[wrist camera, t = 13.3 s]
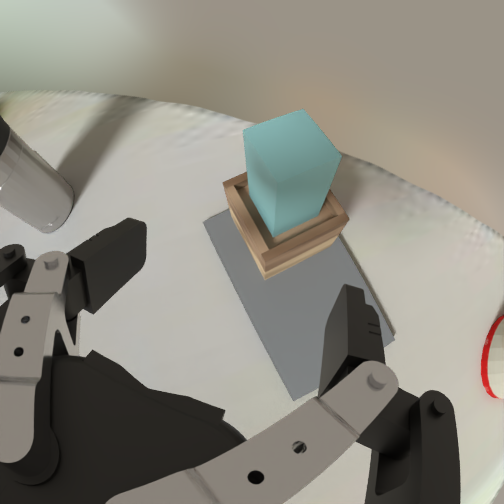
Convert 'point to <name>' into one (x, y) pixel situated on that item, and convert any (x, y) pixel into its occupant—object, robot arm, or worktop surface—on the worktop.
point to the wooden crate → (288, 243)
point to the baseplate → (290, 302)
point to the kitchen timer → (494, 360)
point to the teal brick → (289, 169)
